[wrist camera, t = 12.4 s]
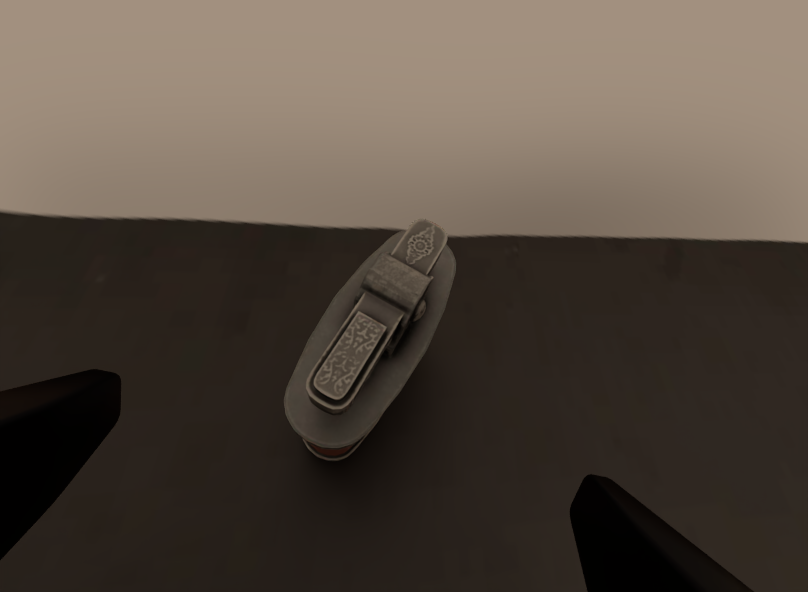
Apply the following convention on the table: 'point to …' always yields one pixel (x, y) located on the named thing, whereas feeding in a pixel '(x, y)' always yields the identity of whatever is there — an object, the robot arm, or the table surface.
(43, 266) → the table surface
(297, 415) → the lighter
